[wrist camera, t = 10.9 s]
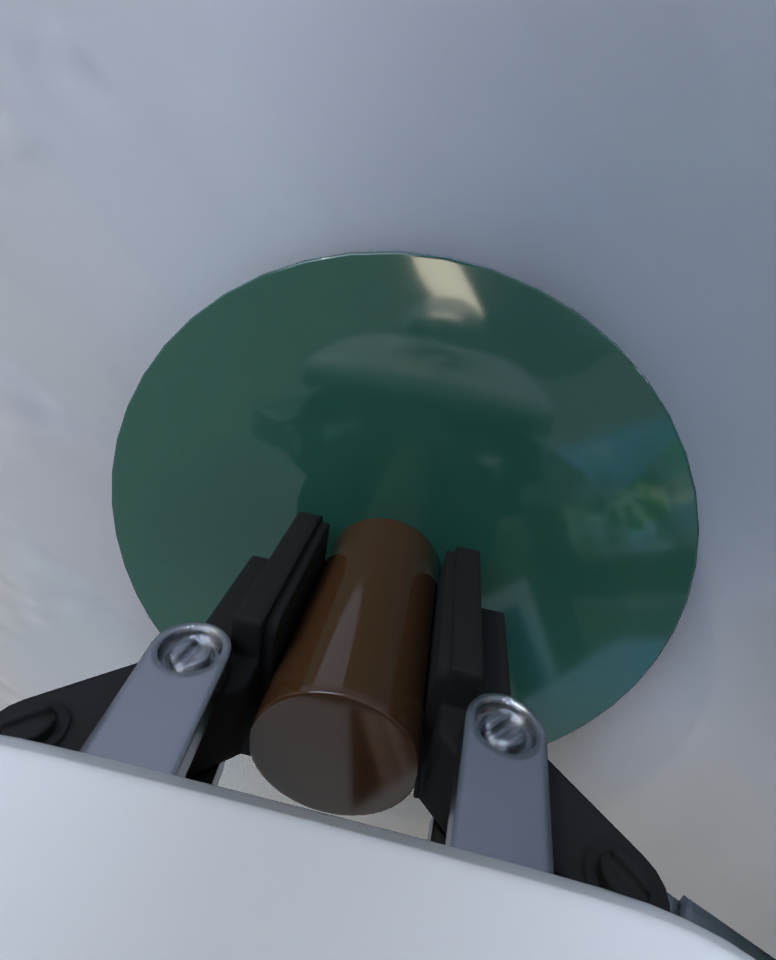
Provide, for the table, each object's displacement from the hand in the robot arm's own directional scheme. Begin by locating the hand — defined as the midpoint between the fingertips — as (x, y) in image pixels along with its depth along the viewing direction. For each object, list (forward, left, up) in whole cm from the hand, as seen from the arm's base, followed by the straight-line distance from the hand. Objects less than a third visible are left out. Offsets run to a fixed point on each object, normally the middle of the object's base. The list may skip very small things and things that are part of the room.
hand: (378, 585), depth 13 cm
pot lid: (0, 0, -1) cm, 1 cm away
